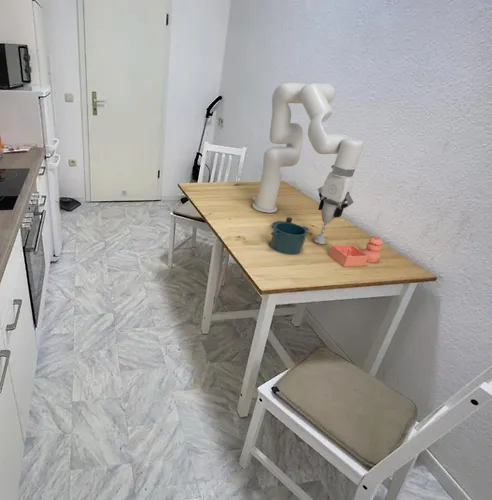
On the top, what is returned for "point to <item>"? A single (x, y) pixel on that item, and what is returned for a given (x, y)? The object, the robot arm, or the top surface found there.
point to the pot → (288, 238)
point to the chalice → (326, 218)
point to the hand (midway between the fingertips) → (329, 212)
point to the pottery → (357, 253)
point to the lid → (283, 221)
